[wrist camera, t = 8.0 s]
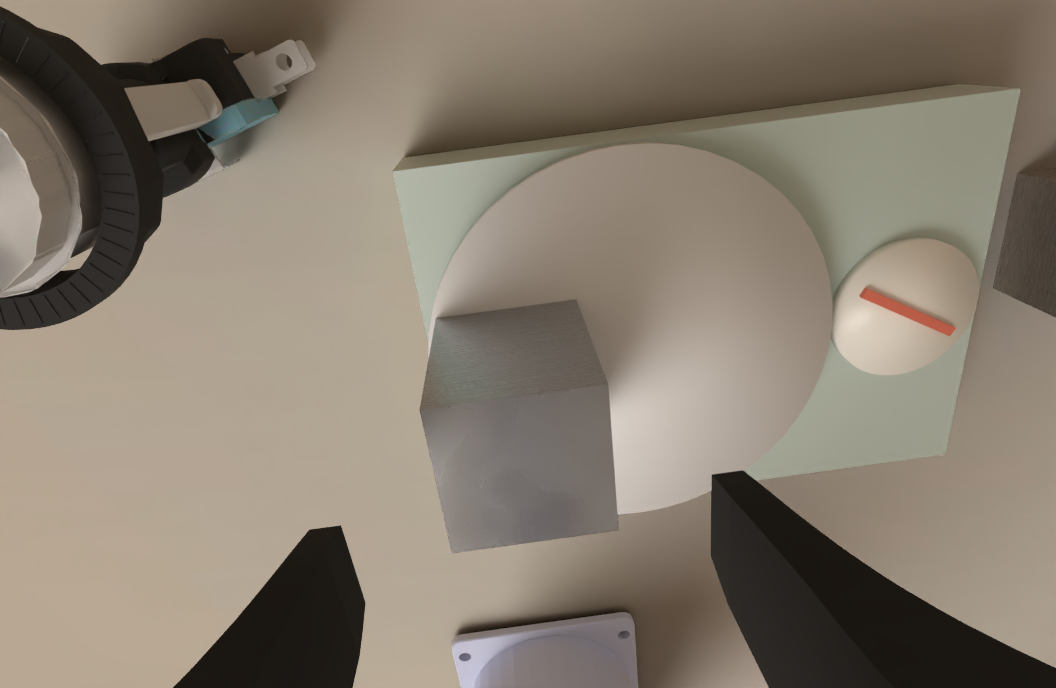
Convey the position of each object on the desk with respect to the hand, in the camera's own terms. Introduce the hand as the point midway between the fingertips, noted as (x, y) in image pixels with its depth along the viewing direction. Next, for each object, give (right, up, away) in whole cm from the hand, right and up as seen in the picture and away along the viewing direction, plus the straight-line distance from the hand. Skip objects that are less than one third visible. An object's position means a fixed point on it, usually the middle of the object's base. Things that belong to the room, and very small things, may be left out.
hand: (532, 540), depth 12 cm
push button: (-9, +11, +6) cm, 15 cm away
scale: (+5, +5, +9) cm, 12 cm away
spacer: (0, +3, +6) cm, 7 cm away
